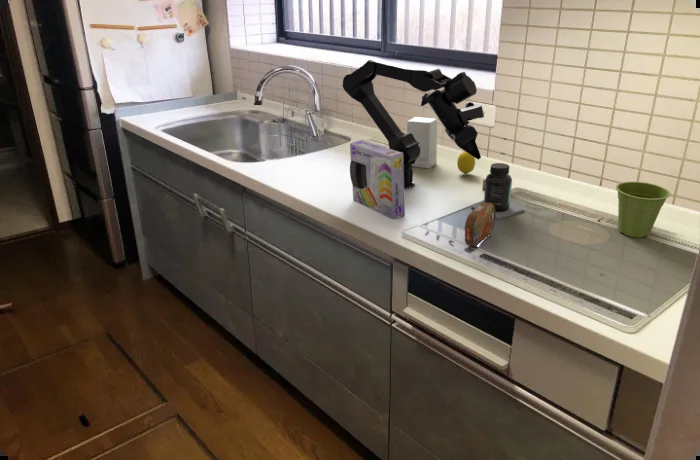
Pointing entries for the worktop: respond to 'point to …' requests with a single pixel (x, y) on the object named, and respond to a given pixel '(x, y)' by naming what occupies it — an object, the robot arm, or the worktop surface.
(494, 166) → the supplement bottle
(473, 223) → the tin
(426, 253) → the worktop surface
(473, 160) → the lemon
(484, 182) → the wooden letter block
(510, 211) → the slate mat
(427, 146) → the skincare box
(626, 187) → the plant pot
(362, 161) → the cake pan box
